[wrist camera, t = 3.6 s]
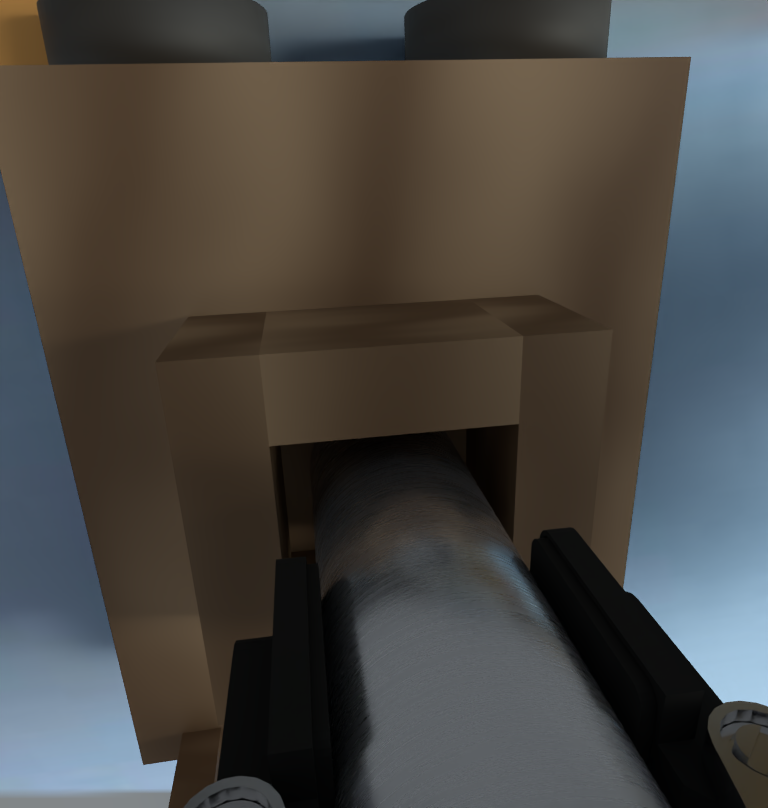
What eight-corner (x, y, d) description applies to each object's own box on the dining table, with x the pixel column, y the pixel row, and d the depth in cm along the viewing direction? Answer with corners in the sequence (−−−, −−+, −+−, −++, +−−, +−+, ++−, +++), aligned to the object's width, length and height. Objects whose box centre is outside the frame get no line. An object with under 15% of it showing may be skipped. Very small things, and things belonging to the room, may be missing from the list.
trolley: (559, 34, 21) (1791, -624, 4) (525, 597, 30) (859, 1191, 12) (79, 37, 19) (-1916, -1293, 2) (190, 639, 28) (21, 1417, 10)
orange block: (72, 1, 19) (35, -30, 16) (98, 140, 20) (67, 134, 18) (-31, 0, 19) (-87, -31, 16) (2, 143, 20) (-44, 137, 17)
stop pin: (451, 391, 17) (779, 830, 5) (451, 518, 18) (709, 1075, 7) (304, 403, 16) (331, 913, 5) (315, 532, 17) (356, 1156, 6)
